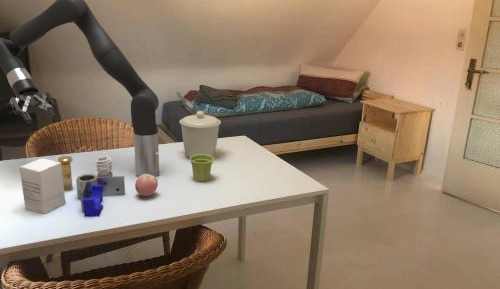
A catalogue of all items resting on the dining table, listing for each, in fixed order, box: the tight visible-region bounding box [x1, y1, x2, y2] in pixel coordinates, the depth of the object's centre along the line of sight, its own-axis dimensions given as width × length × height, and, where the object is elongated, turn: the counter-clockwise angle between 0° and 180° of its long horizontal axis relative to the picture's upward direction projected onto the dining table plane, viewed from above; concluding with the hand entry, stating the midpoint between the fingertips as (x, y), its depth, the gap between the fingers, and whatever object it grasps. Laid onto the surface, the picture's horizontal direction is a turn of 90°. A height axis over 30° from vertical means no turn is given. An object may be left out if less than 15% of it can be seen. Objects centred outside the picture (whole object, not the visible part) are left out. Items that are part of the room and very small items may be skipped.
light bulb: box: [95, 155, 113, 177], centre depth 159 cm, size 6×6×12 cm
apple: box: [134, 174, 159, 197], centre depth 153 cm, size 8×8×8 cm
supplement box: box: [19, 158, 66, 215], centre depth 141 cm, size 9×9×15 cm
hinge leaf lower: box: [76, 181, 92, 214], centre depth 147 cm, size 7×16×7 cm, turn 12°
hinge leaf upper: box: [75, 173, 126, 197], centre depth 152 cm, size 16×7×7 cm, turn 102°
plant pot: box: [189, 154, 215, 183], centre depth 169 cm, size 9×9×9 cm
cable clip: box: [83, 185, 104, 218], centre depth 143 cm, size 12×4×6 cm, turn 5°
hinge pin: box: [57, 155, 74, 192], centre depth 155 cm, size 5×5×12 cm
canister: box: [179, 110, 222, 159], centre depth 192 cm, size 18×18×21 cm
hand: (42, 119), depth 155 cm, fingers open, 8 cm apart
